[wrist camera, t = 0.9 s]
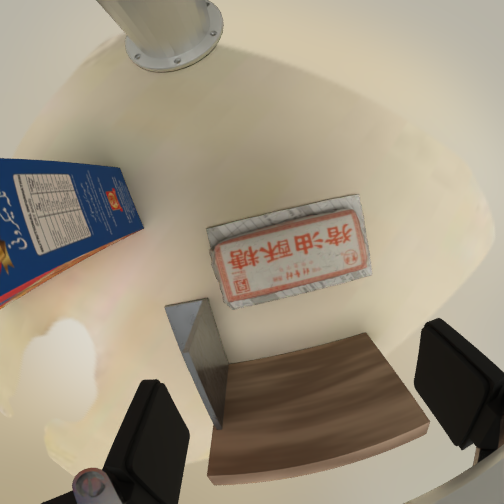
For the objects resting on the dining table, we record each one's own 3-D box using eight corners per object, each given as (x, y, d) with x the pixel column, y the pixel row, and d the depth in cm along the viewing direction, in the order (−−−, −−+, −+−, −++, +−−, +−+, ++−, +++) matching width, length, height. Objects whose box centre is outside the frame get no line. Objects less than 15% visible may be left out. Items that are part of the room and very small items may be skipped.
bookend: (165, 305, 33) (131, 358, 22) (207, 297, 33) (188, 352, 21) (189, 369, 35) (171, 432, 24) (228, 364, 35) (222, 429, 23)
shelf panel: (221, 365, 35) (207, 475, 18) (365, 332, 34) (430, 421, 17) (225, 376, 36) (214, 485, 18) (366, 344, 35) (426, 433, 17)
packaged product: (225, 324, 29) (199, 234, 27) (228, 306, 34) (206, 227, 32) (384, 283, 28) (373, 194, 26) (368, 271, 33) (356, 193, 31)
